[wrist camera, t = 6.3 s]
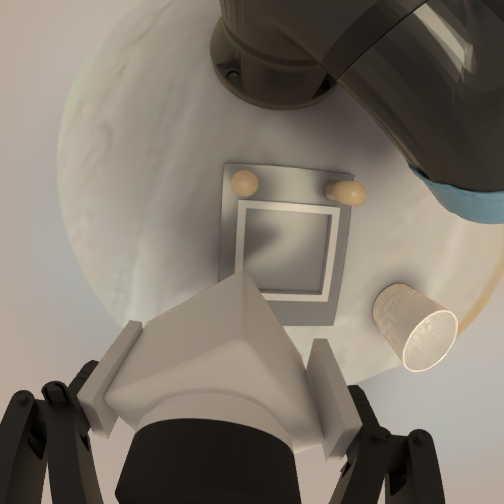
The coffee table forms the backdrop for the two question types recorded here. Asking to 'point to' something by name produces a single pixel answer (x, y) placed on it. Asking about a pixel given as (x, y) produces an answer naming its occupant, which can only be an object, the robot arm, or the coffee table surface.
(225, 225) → the peg board
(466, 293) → the coffee table surface
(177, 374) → the medicine bottle
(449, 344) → the white cup
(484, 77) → the robot arm
